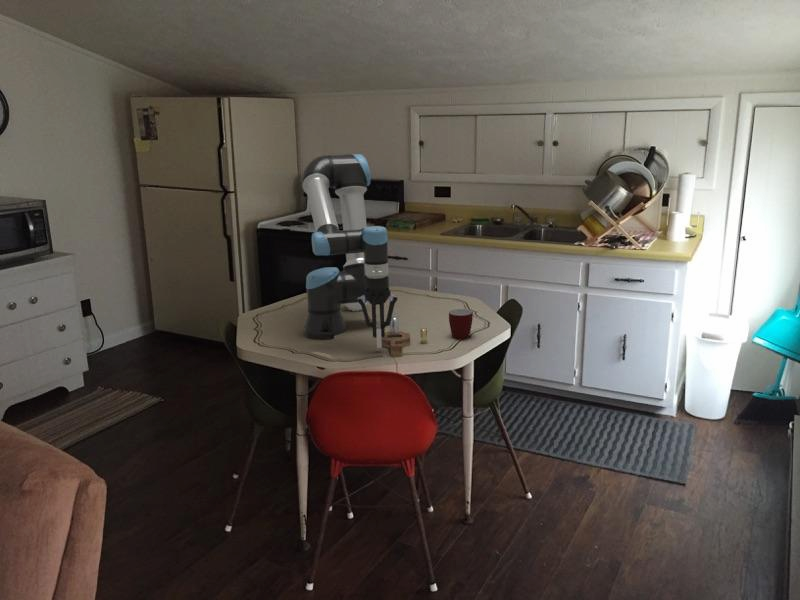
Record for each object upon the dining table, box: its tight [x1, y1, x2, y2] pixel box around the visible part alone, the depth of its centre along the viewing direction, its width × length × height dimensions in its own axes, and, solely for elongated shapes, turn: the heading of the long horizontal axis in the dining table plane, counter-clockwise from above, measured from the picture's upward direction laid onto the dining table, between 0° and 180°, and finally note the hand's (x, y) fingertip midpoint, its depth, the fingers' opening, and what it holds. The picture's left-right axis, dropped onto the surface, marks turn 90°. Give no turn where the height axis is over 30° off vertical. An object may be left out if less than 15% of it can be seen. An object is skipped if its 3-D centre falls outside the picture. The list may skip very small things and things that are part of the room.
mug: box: [448, 308, 474, 340], centre depth 238 cm, size 11×8×10 cm
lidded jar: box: [344, 301, 369, 312], centre depth 277 cm, size 11×11×9 cm
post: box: [389, 316, 400, 338], centre depth 231 cm, size 3×3×9 cm
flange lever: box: [381, 330, 411, 358], centre depth 228 cm, size 18×10×4 cm, turn 3°
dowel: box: [419, 327, 428, 345], centre depth 231 cm, size 2×2×5 cm
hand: (379, 346), depth 224 cm, fingers closed
